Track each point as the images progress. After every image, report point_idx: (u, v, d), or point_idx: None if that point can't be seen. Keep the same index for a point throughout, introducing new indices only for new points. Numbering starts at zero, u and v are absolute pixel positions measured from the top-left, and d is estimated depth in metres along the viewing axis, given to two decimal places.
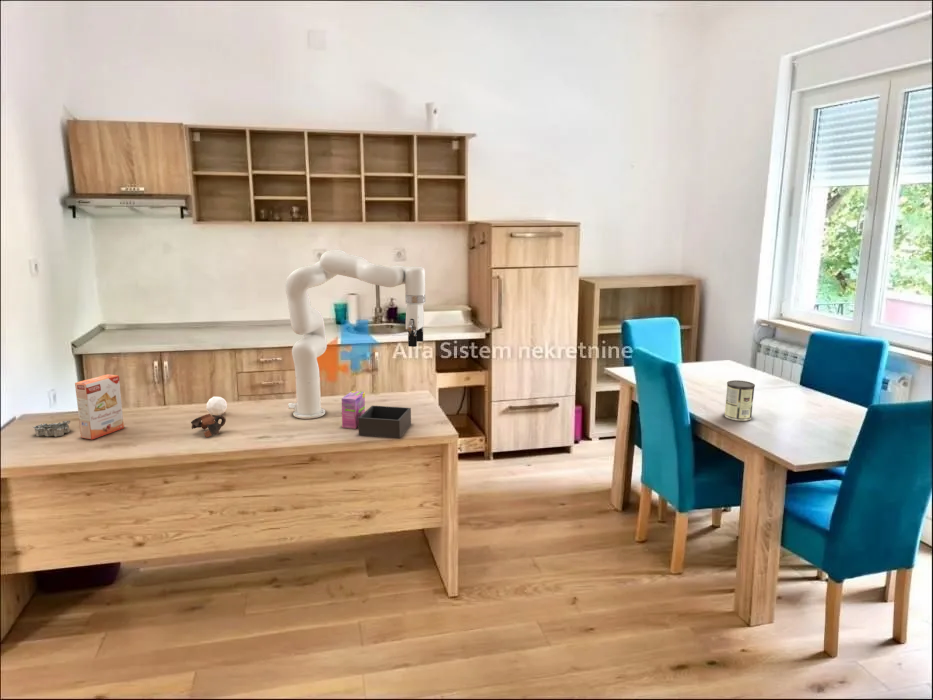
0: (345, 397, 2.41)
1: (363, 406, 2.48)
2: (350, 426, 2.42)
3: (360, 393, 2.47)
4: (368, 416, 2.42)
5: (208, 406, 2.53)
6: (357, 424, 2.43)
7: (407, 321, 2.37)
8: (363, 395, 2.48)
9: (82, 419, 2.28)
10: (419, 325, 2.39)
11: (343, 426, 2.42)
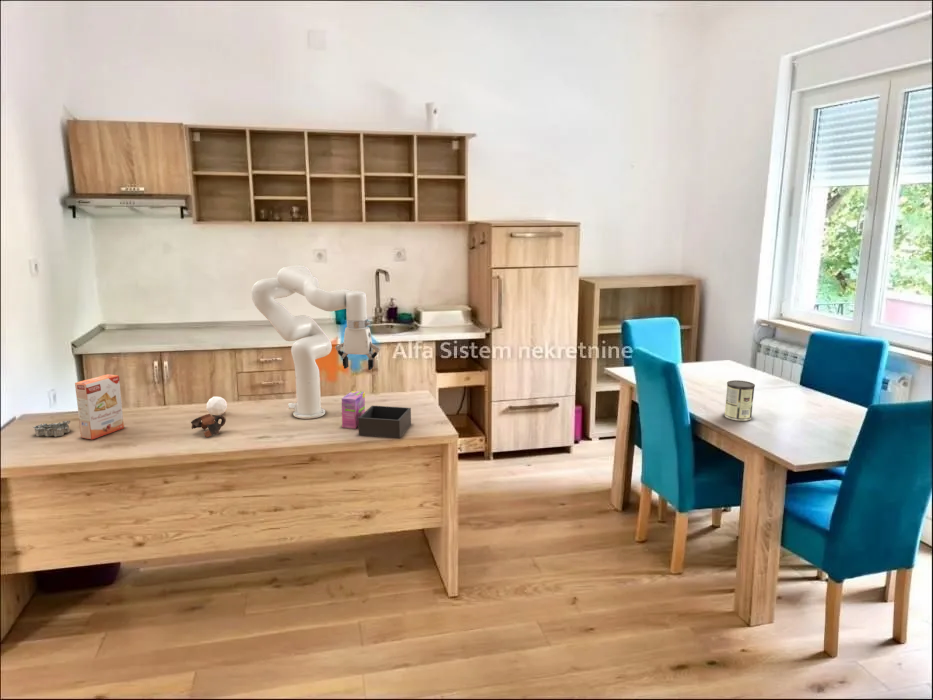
0: (345, 397, 2.41)
1: (363, 406, 2.48)
2: (350, 426, 2.42)
3: (360, 393, 2.47)
4: (368, 416, 2.42)
5: (208, 406, 2.53)
6: (357, 424, 2.43)
7: None
8: (363, 395, 2.48)
9: (82, 419, 2.28)
10: (349, 349, 2.39)
11: (343, 426, 2.42)
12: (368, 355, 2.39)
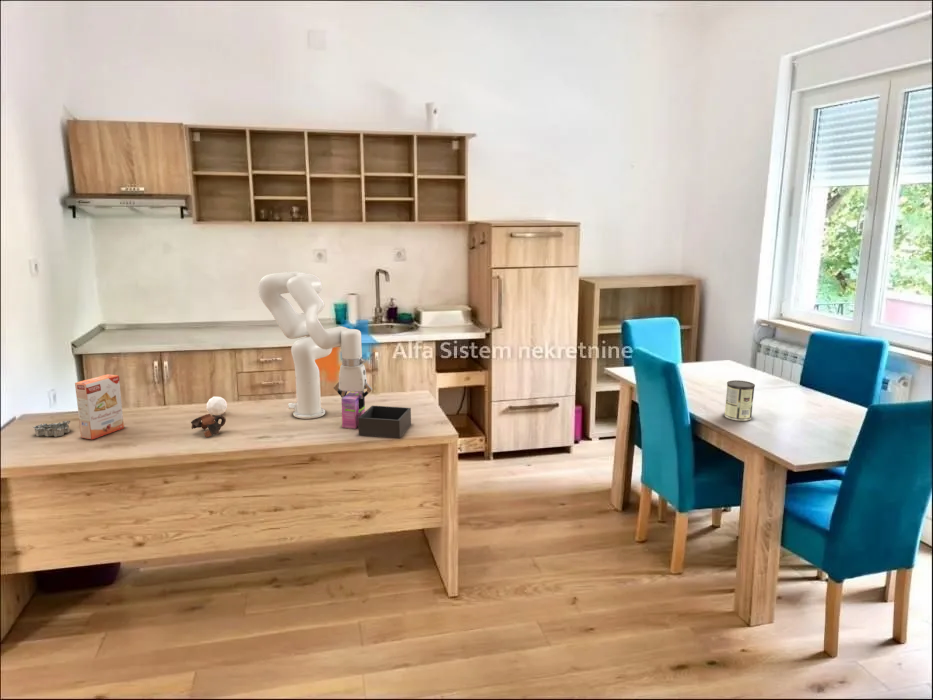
0: (345, 397, 2.41)
1: None
2: (350, 426, 2.42)
3: None
4: (368, 416, 2.42)
5: (208, 406, 2.53)
6: (357, 424, 2.43)
7: None
8: None
9: (82, 419, 2.28)
10: (344, 387, 2.42)
11: (343, 426, 2.42)
12: (360, 394, 2.42)
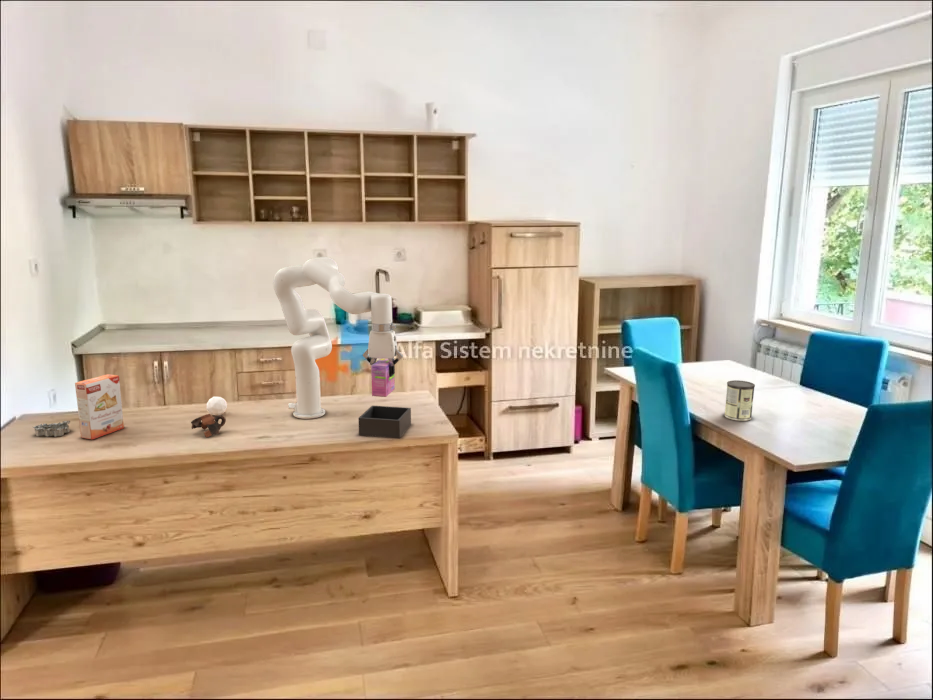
0: (375, 364, 2.32)
1: None
2: (380, 394, 2.33)
3: None
4: (368, 416, 2.42)
5: (208, 406, 2.53)
6: (387, 392, 2.34)
7: None
8: None
9: (82, 419, 2.28)
10: (374, 353, 2.33)
11: (373, 395, 2.33)
12: (390, 361, 2.33)
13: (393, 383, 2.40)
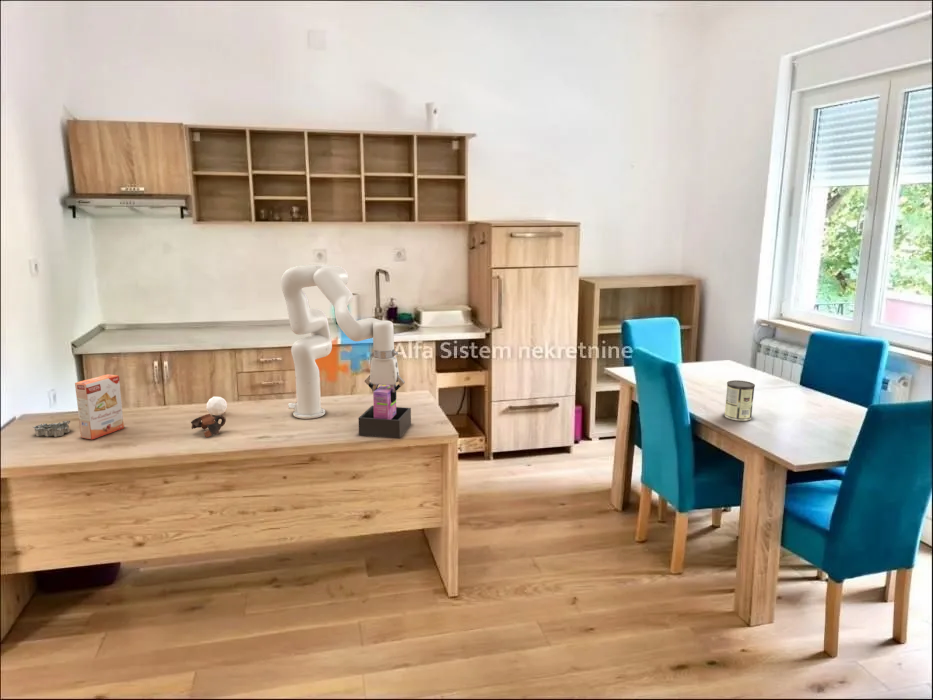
0: (377, 390, 2.34)
1: None
2: None
3: None
4: (368, 416, 2.42)
5: (208, 406, 2.53)
6: (389, 418, 2.36)
7: None
8: None
9: (82, 419, 2.28)
10: (376, 380, 2.35)
11: None
12: (392, 387, 2.35)
13: (395, 408, 2.42)
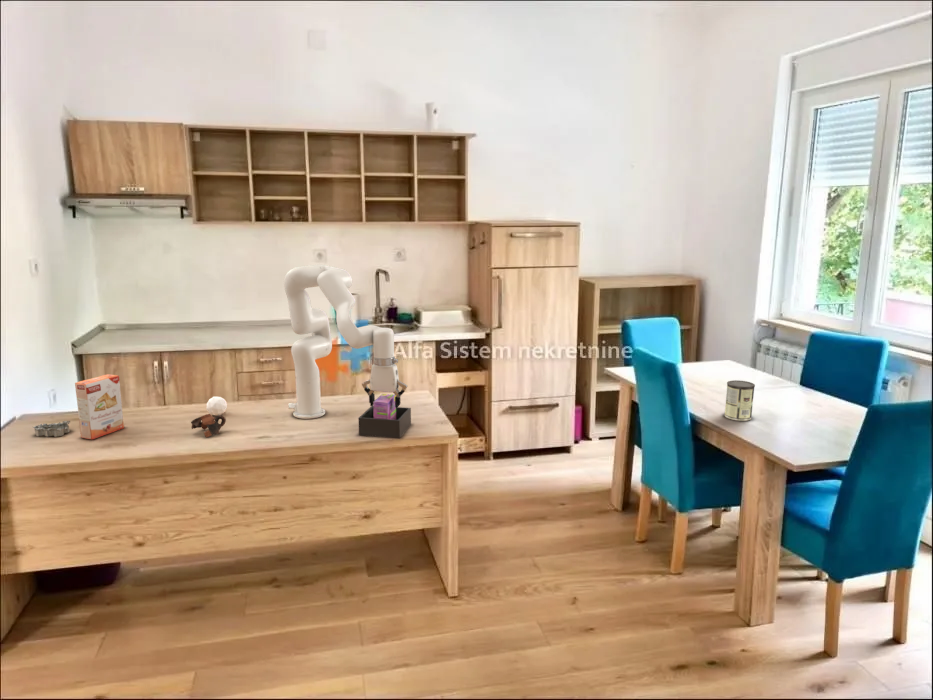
0: (377, 400, 2.35)
1: (394, 409, 2.41)
2: None
3: (392, 396, 2.40)
4: (368, 416, 2.42)
5: (208, 406, 2.53)
6: None
7: None
8: None
9: (82, 419, 2.28)
10: (376, 387, 2.35)
11: None
12: (395, 393, 2.35)
13: (395, 418, 2.43)
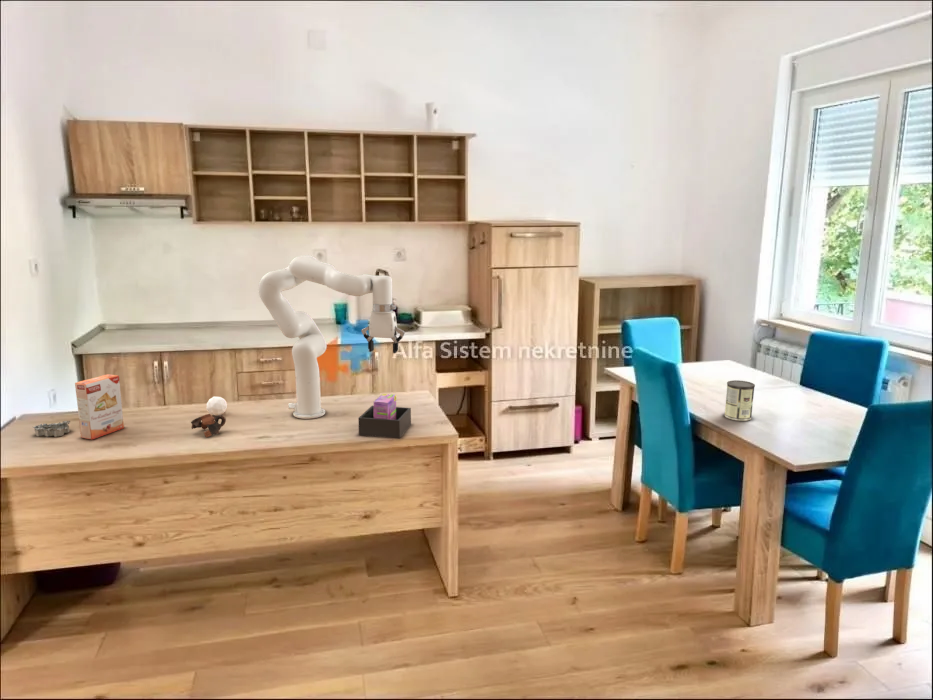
0: (377, 400, 2.35)
1: (394, 409, 2.41)
2: None
3: (392, 396, 2.40)
4: (368, 416, 2.42)
5: (208, 406, 2.53)
6: None
7: None
8: (395, 398, 2.41)
9: (82, 419, 2.28)
10: (374, 333, 2.44)
11: None
12: (393, 339, 2.44)
13: (395, 418, 2.43)
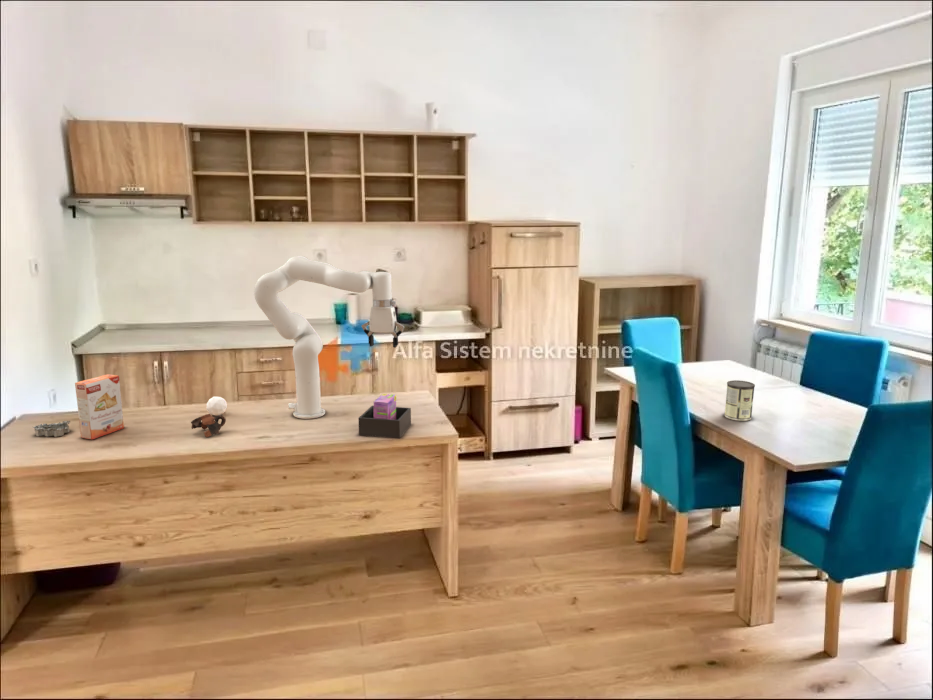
0: (377, 400, 2.35)
1: (394, 409, 2.41)
2: None
3: (392, 396, 2.40)
4: (368, 416, 2.42)
5: (208, 406, 2.53)
6: None
7: None
8: (395, 398, 2.41)
9: (82, 419, 2.28)
10: (375, 328, 2.50)
11: None
12: (393, 333, 2.50)
13: (395, 418, 2.43)
